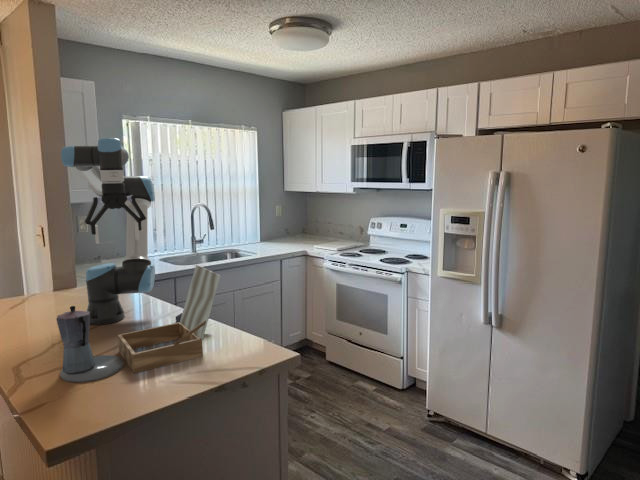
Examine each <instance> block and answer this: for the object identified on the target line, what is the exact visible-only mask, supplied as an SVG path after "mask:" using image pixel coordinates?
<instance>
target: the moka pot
mask: <svg viewBox="0 0 640 480" xmlns="http://www.w3.org/2000/svg"><path fill="white" fill-rule="evenodd" d="M69 309H70V310H69V311H65V312H64V313H61V314H59V315H57V316H56V318H55V319H56V323H57V327H58V330H59V334H60V339H61V342H62V343H63V345H62V346H63V352H62V353H63V356H62V357H63V359H62V369H63V371H64V372H65V373H78V372H83V371H86V370H89V369H91V368H92V367H94V365H95V362H94V358H93V356H94V354H93V351H92V347H91V343H90V324H89V319H90V312H89V311H87V310H76V306H75V305H72V306H70V307H69Z"/></svg>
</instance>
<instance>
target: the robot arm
mask: <svg viewBox="0 0 640 480" xmlns="http://www.w3.org/2000/svg"><path fill="white" fill-rule="evenodd" d="M60 158H61V162H62V165H63V166H64V167H67V168H75V169H77V171H78V172H79V173H80V174H81V175H82V177H83V178H84V179H85V180H86V181H87V182H88V184H89V185H90V189H91V191H92V192H93V193H94V194H95V195H96V196H93V197H92V204H91V205H90V209H89V210H88V213H87V215H86V218H85V220H84V224H86V225H89V226H90V231H91V235H94V239H95V240H94V241H95V244H97V245H99V244H100V235H99V226H98V224H97V223H98V222H99V221H100V219H101V218H102V217H103V216H104V214H105V213H106V211H107V210H109V209H110V210H114V209H118V210H119V209H123V210H124V211H126V245H125V246H126V249H125V253H126V254H125V256H126V257H125V259H123V261H121V263H122V265H121V266H117V264H116V263H115V262H110V263H109V262H108V263H103V264H99V265H95V266H91V267H89V268H88V269H87V270H86V271H85V282H86V291H87V292H86V293H87V302H88V303H87V308H86V311H89V312H90V319H89V325H92V326H93V325H95V326H97V325H107V324H112V323H116V322H119V321H121V320H123V319H124V318H125V317H126V316H125V315H126V314H125V310H124V308H123V306H122V304H121V302H120V300H119V295H125V294H126V295H128V294H129V295H130V294H142V293H149V292H151V291H152V290H153V288H154V284H155V280H156V268H155V265H154V264H152V261H151V260H150V259H149V258H148V209H149V208H150V207H151V205H152V202H155V201H156V196H155V191H154V187H153V186H154V185H153V182H152V178H151V177H149V176H148V175H147V176H146V175H138V176H137V175H135V176H134V175H133V176H131V175H130V176H129V175H128V176H124V165H126V164H127V163H128V161H129V158H130V156H129V152H128V150H126V149H125V147H123V146H122V143H121V139H119V138H116V137H114V138H113V137H110V138H109V137H103V138H99V139H98V140H97V145H69V146H67V145H66V146H63V147H62V148H61V151H60ZM97 196H98V197H97ZM101 202H102V203H103V204H104V205H103V206H102V207H101V209H100V210H99V211H98V212H97V214H96V215H95V216H94V214H95V211H96V209H97V207H98V204H100V203H101ZM93 216H94V217H93ZM92 218H93V219H92Z"/></svg>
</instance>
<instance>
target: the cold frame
mask: <svg viewBox="0 0 640 480" xmlns="http://www.w3.org/2000/svg"><path fill="white" fill-rule="evenodd" d="M221 276H222V275H220V274H218V273H216V272H214V271H211V270H210V269H207V268H205V267H203V266H200V265H198V264H196V265H195V267H194V271H193V275H192V278H191V281H190V285H189V289H188V292H187V296H186V299H185V303H184V306H183V310H182V312H181V313H182V316H181V320H180V322H178V323H175V322H174V323H169V324H164V325H158V326H154V327H150V328H144V329H140V330H135V331H130V332H126V333H125V332H123V333H121V334H117V340H118V343H117V344H118V352H119V354H120V355H121V356H122V357H123V358H122V359H123V360H125V362H126V363H127V364H128V366H129V368H130V369H131V371H132V372H133V374H136V373H137V374H138V373H141V372H144V371H150V370H153V369H157V368H161V367H165V366H168V365H172V364H177V363H180V362H185V361H189V360H192V359H197V358H201V357H203V356H204V353H203V339H204V336H205V333H206V330H207V326H208V322H209V319H210V315H211V311H212V307H213V305H214V304H213V303H214V302H215V301H214V299H215V297H216V293H217V290H218V286H219V284H220V283H219V282H220V280H221ZM176 339H177V340H176ZM171 340H172V341H175V342H174V343H173V344H169V345H164V346H161V347H160V346H159V347H157V348H153V349H147V350H142V351H138V352H136V351H135V350H137V349H140V348H146V347H149V346H155V345H158V344H163V343H167V341H168V342H172V341H171Z"/></svg>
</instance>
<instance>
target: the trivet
mask: <svg viewBox="0 0 640 480" xmlns="http://www.w3.org/2000/svg"><path fill="white" fill-rule="evenodd" d="M93 358H94V362H95V365H94V367H92V368H91V369H89V370H86V371H83V372H78V373H65V372H64V371H63V368H61V370H60V372H59V374H60V375H59V376H60V379H61V380H62V381H64V382H67V383H87V382H94V381H98V380H99V381H100V380H101V379H105V378H108V377H110V376H113V375H114V374H116V373H118V372H120V371H121V370H122V369H123V368H124V365H125V364H124V358H122V357H121V356H117V355H111V354H110V355H109V354H104V355H101V354H100V355H93Z"/></svg>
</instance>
